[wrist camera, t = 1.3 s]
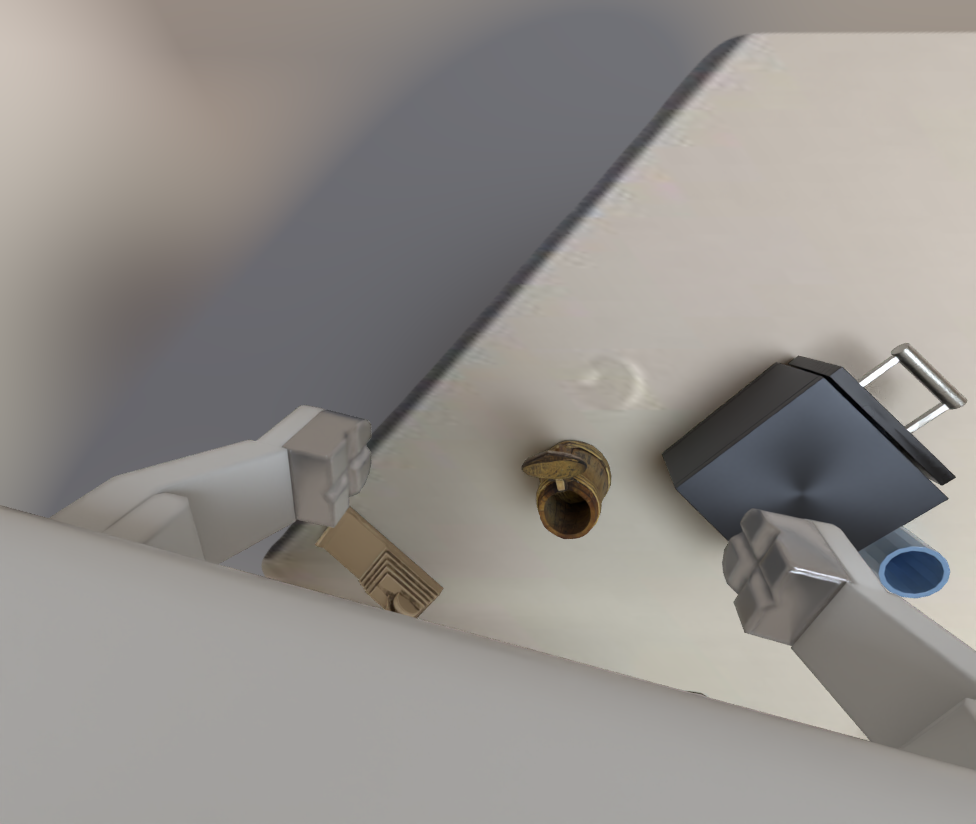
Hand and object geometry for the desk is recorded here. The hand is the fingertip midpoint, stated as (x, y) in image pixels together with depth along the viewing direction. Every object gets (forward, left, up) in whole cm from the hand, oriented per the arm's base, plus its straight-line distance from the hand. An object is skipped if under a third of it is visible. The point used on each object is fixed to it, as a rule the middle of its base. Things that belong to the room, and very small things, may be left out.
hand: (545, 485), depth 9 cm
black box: (-23, -4, -44) cm, 50 cm away
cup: (-38, -6, -44) cm, 58 cm away
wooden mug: (-9, +12, -44) cm, 47 cm away
